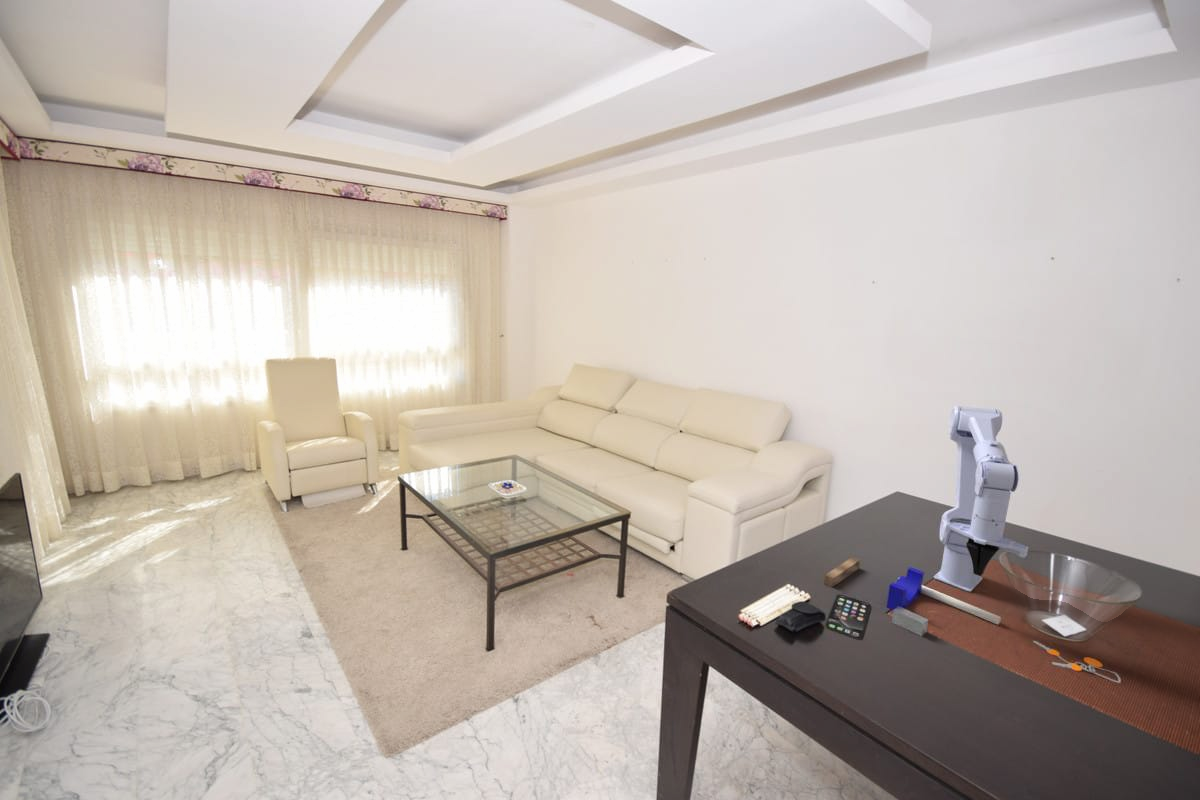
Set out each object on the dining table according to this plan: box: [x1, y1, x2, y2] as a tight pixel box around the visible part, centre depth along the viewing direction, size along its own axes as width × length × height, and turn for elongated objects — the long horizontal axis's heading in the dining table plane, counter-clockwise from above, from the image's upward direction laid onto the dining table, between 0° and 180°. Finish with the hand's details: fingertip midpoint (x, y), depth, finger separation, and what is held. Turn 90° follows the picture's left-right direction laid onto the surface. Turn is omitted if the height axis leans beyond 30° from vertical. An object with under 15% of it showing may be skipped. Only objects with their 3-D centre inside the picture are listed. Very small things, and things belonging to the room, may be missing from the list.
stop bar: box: [823, 556, 861, 588], centre depth 132 cm, size 14×2×2 cm, turn 129°
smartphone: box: [824, 594, 872, 641], centre depth 117 cm, size 7×1×15 cm
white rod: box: [897, 576, 1002, 626], centre depth 122 cm, size 2×21×2 cm, turn 39°
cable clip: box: [886, 566, 925, 611], centre depth 122 cm, size 12×4×6 cm, turn 130°
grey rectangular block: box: [891, 606, 929, 637], centre depth 113 cm, size 2×6×3 cm, turn 39°
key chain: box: [1032, 640, 1122, 684], centre depth 103 cm, size 13×7×1 cm, turn 54°
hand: (978, 573), depth 115 cm, fingers closed
